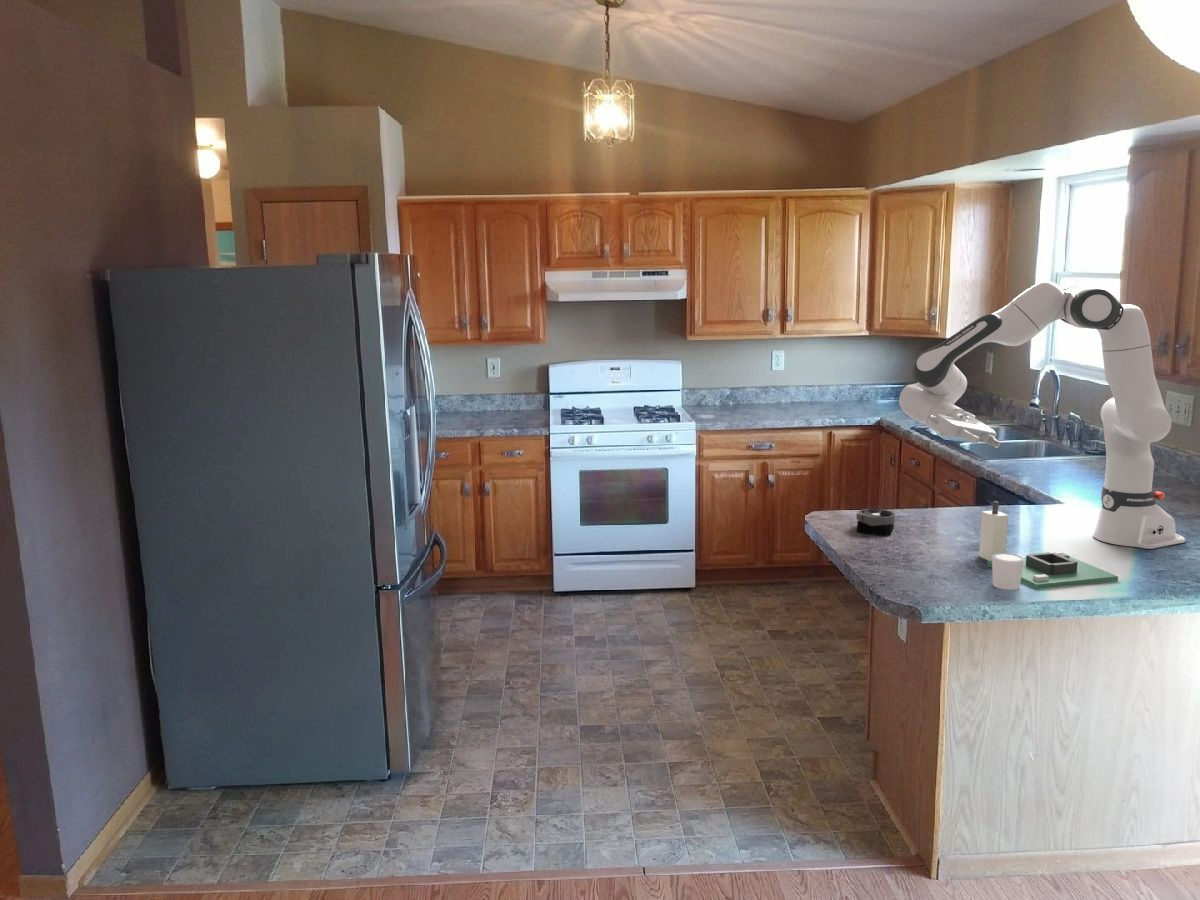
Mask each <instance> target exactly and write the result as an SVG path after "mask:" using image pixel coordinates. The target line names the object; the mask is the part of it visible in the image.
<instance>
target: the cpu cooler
mask: <svg viewBox="0 0 1200 900" xmlns="http://www.w3.org/2000/svg"><path fill="white" fill-rule="evenodd" d="M855 519H856V520H857V524H856V527H857V528H856V532H857V533H859V534H862V533H863V534H864V535H870V534H871V535H874V536H883V537H884V536H885V537H887V536H889V537H890V536H891V535H892V533H893V532H894V529H895V528H894V527H895V521H896V520H895V519H896V513H895V512H894V511H891V510H887V509H885V508H883V509H882V508H864V509H861V510H858V512H856V517H855ZM865 533H866V534H865Z"/></svg>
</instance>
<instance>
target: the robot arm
mask: <svg viewBox="0 0 1200 900" xmlns="http://www.w3.org/2000/svg"><path fill="white" fill-rule="evenodd" d="M1058 320H1061V321H1062V322H1064V323H1067V324H1068V325H1071V326H1073V327H1076V328H1079V329H1091V330H1097V332H1098V333H1099V336H1100V339H1101V348H1102V359H1103V360H1102V361H1103V367H1104V377H1105V380H1106V383H1107V384H1108V386H1109V389H1110V390H1111V392H1110V393H1111V394H1112V397H1111V398H1109V399H1108V400H1106V401H1105V402H1104V403H1103V405H1102V406H1101V409H1100V419H1101V422H1102V425H1103V437H1104V444H1105V456H1106V457H1105V463H1106V464H1105V475H1104V484H1103V486H1102V490H1101V494H1100V499H1101V506H1100V510H1099V515H1098V519H1097V521H1096V522H1097V523H1096V526H1095V528H1094V531H1093V534H1092V536H1093V538H1095V539H1096V540H1099V541H1101V542H1104V543H1108V544H1113V545H1117V546H1125V547H1136V548H1141V549H1147V550H1149V549H1157V548H1158V549H1159V548H1163V547H1168V546H1172V545H1178V544H1184V543H1186V539H1185V537H1184V536H1182V535H1181V534H1178V533H1176V521H1175V519H1174V517H1173V516H1172V515H1170V514H1169V513H1168V512H1166V511H1165V510H1164V509H1163V508H1162V507H1160V506H1159V505H1158V504H1157V501H1156V500H1157V499H1158V500H1160V501H1162V500H1164V498H1165V497H1166V496H1165V495H1166V493H1164V492H1162V491H1153V490H1152V489H1153V481H1154V480H1153V478H1154V469H1155V460H1154V458H1153V455H1152V450H1151V445H1150V444H1151V443H1156V442H1160V441H1161V440H1163V439H1165V437H1167V435H1168V434H1169V433H1170V431H1171V429H1172V418H1171V415H1170V414H1169V412H1168V411H1167V409H1166V406H1165V403H1164V400H1163V397H1162V393H1161V390H1160V388H1159V384H1158V382H1157V377H1156V374H1155V368H1154V360H1153V351H1152V344H1151V335H1150V330H1149V327H1148V323H1147V319H1146V317H1145V314H1144V311H1143V310H1142V309H1141V308H1140V307H1139V306H1136V305H1134V304H1127V303H1126V304H1124V303H1123V304H1122V303H1120V301H1119V300H1118V299H1117V297H1116V296H1115V295H1114V294H1113V293H1112V292H1111V291H1110V290H1109V289H1107V288H1104V287H1102V286H1097V285H1092V284H1086V285H1078V286H1072V287H1069V288H1065V289H1063V288H1062V287H1060V286H1059V285H1058V284H1057V283H1055V282H1052V281H1050V280H1043V281H1039V282H1038V283H1036V284H1034V285H1032V286H1031V287H1030V288H1027V289H1026V290H1024V291H1023V292H1022V293H1020V294H1019V295H1018V296H1016V297H1015V298H1013V299H1012V300H1011V301H1010V302H1008V304H1006V305H1004V306H1003V307H1002V308H1000V309H998V310H997V311H995V312H993V313H987V314H985V315H982V316H981V317H979V318H976V320H974V321H972V322H970V323H968V325H966V326H965V327H963V328H961V329H960V330H959V331H957V332H956V333H954V334H952V336H950V337H948V338H947V339H946V340H944V341H942V342H941V343H939V344H937V345H935V346H933V347H931V348H928V349H926V350H925V351H923V352H921V353H920V354H919V355H918V356H916V358H915V360H914V362H913V364H912V366H911V374H912V377H913V379H914V380H915V381H917V382H916V383H913V384H907V385H906V386H905V387H903V388H902V390H901V392H900V395H899V397H898V398H899V399H898V404H899V406H900V409H901V410H902V412H903V413H905V414H906V415H907V416H909V418H911V419H912V420H914V421H916V422H917V423H919V424H924V425H925V426H926V427H927V428H928V429H930V430H932V431H933V432H934V433H936V434H938V435H940V436H941V437H944V438H949V437H951V438H956V439H961V440H966V441H968V442H970V443H972V444H978V443H983V444H986V445H990V446H992V447H993V448H996V449H997V448H1000V446H1001V444H1002V442H1001V441H1000V440H998V439H996V436H997V432H996V431H995V430H994V429H992V428H991V427H990V426H988V425H987V424H985V423H984V422H982V421H980V420H979V419H976V415H974V414H973V413H970V412H969V411H966V410H964V409H963V408H961V407H959V406H957V405H955V404H956V403H957V402H958V401H959V400H960V399H961V398H962V396H963V395H964V394H965V393H966V391H967V388H968V379H967V377H966V376H965V375H964V373H963V372H962V371H961V370H960V369H959V368H958V367H957V366H956V365H955V362H956V361H957V360H959V359H961V358H962V357H963V356H965V355H966V354H968V353H970V352H971V351H972V350H973V349H975V348H977V347H978V346H981V345H982V344H984V343H985V344H986V343H995V344H999V345H1002V346H1007V347H1018V346H1021V345H1023V344H1026V343H1027V342H1029V341H1031V340H1032V339H1034V338H1035V336H1037V335H1038V334H1039V333H1040V332H1041V331H1042V330H1043V329H1045V328H1046V327H1047V326H1048V325H1049V324H1052V323H1054V322H1055V321H1058Z"/></svg>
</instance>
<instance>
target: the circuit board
mask: <svg viewBox="0 0 1200 900" xmlns="http://www.w3.org/2000/svg"><path fill="white" fill-rule="evenodd" d="M1023 558H1024V564H1023V569H1022V575H1021V580H1020V583H1022V584H1025V585H1027V586H1029V587H1031V588H1033V589H1035V590H1043V589H1045V590H1046V589H1053V588H1054V589H1055V588H1063V587H1072V586H1083V584H1084V585H1091V584H1090V583H1094V584H1102V583H1101V582H1104V583H1113V582H1118V580H1119V576H1118V575H1116V574H1113V573H1111V572H1109V571H1106V570H1104V569H1101V568H1099V567H1096V566H1094V565H1091V564H1089V563H1086V562H1084V561H1081V560H1080V559H1077V558H1074V557H1072V556H1070V555H1069V554H1066V553H1064V552H1059V553H1056V552H1050V551H1049V552H1038V553H1029V554H1027V555H1026V557H1023ZM986 563H987V564H986V566H987V567H989V568H991V569H992V561H988V560H987V561H986Z"/></svg>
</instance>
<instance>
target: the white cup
mask: <svg viewBox="0 0 1200 900" xmlns="http://www.w3.org/2000/svg"><path fill="white" fill-rule="evenodd" d="M1024 558H1025V557H1023V556H1020V555H1017V554H1013V553H1007V552H1006V553H999V554H994V555H993V556H992V568H991V569H992V572H991V573H992V585H993V587H995V588H997V589H1001V590H1005V591H1006V590H1007V591H1014V590H1015V591H1016V590H1019V589H1020V585H1021V582H1020V580H1021V575H1022V569H1023V564H1024Z"/></svg>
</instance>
